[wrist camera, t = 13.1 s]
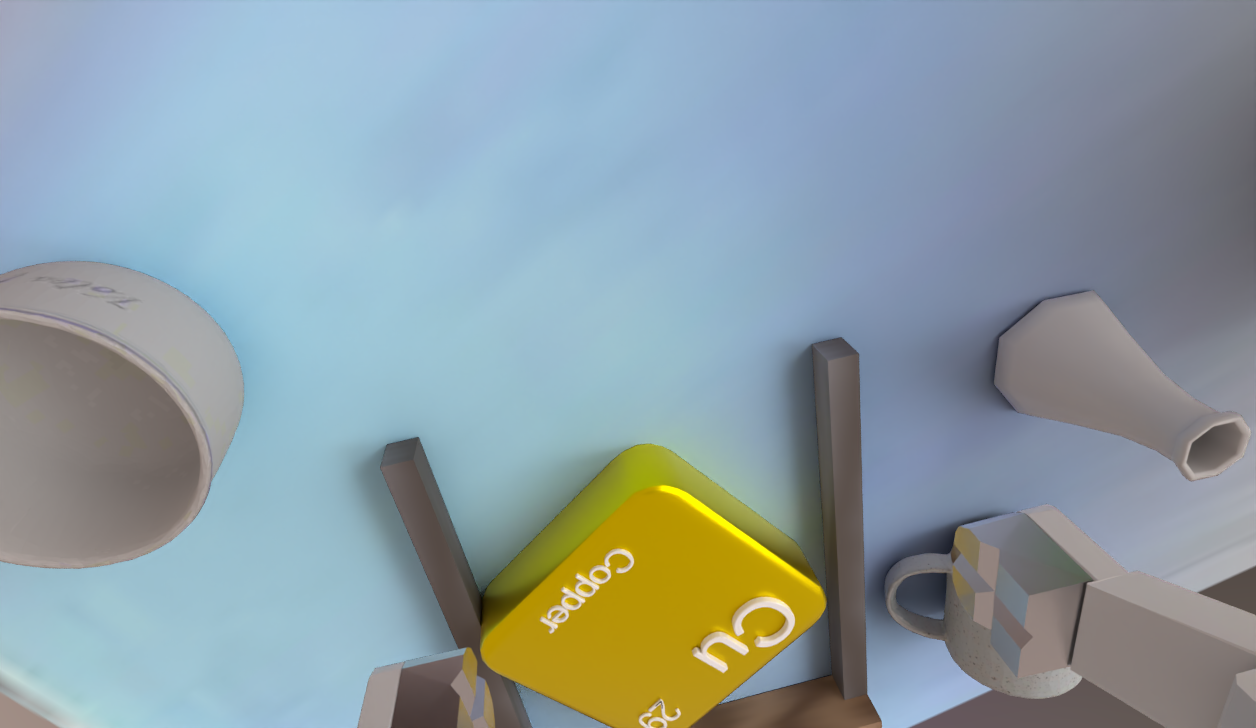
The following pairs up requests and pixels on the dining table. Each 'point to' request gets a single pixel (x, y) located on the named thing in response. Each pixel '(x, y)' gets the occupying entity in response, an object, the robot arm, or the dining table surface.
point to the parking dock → (837, 704)
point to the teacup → (106, 413)
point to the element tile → (648, 597)
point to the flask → (1110, 386)
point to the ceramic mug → (968, 634)
